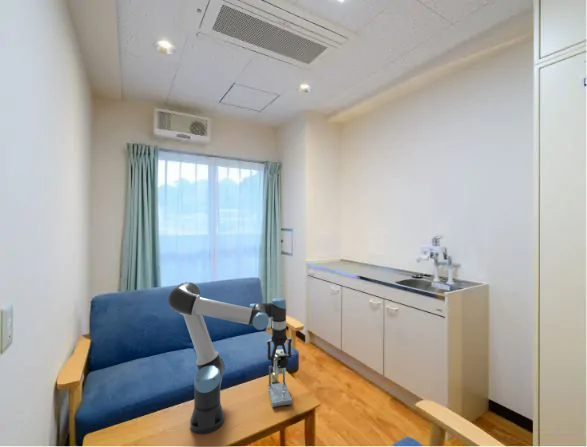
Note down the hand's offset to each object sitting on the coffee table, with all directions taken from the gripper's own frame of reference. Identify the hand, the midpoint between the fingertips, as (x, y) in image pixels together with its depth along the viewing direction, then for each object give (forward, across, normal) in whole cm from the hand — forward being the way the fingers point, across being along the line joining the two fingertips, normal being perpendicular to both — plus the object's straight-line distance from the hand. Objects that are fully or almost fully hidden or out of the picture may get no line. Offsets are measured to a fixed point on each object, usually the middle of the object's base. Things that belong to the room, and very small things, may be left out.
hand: (279, 371), depth 147 cm
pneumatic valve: (+1, 0, 0) cm, 1 cm away
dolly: (+14, 0, 0) cm, 14 cm away
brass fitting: (+14, 0, +15) cm, 21 cm away
